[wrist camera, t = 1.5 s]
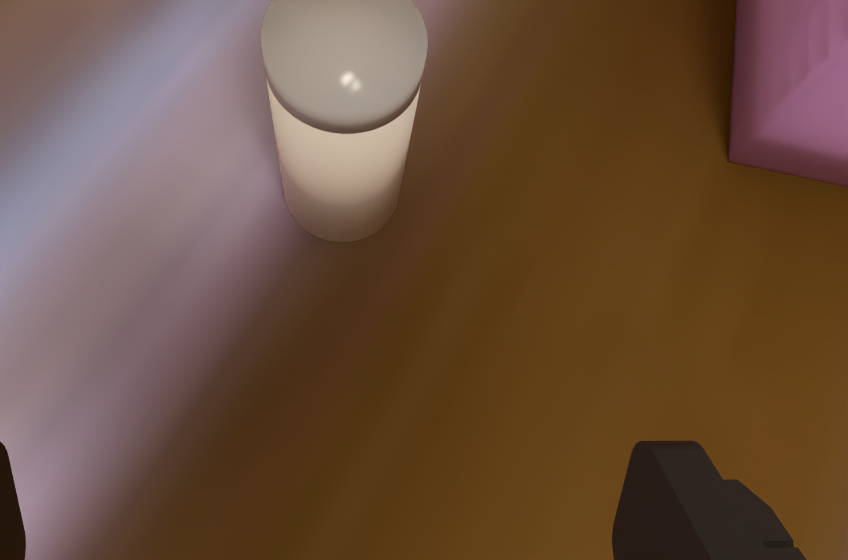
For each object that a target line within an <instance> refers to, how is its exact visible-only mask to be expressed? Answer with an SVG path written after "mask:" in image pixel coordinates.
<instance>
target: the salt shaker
mask: <svg viewBox="0 0 848 560" xmlns="http://www.w3.org/2000/svg"><path fill="white" fill-rule="evenodd" d="M261 48H262V55H263V61H264V68H265V74H266V80H267V87H268V93H269V100H270V106H271V113H272V119H273V126H274V132H275V138H276V145H277V151H278V158H279V164H280V171H281V177H282V183H283V190H284V196H285V201H286V204H287V207H288V209H289V211H290V213H291V215H292V216H293V218H294V219H295V220H296V222H297V223H298V224H299V225H300V226H301V227H302V228H304V229H305V230H306V231H308V232H309V233H311V234H312V235H314V236H316V237H318V238H321V239H324V240H328V241H333V242H352V241H357V240H360V239H364V238H366V237H368V236H371V235H372V234H374V233H376V232H377V231H378V230H380V229H381V228H382V227H383V226H384V225H385V224H386V223H387V222H388V221H389V219H390V218H391V217H392V215H393V213H394V211H395V209H396V206H397V203H398V198H399V193H400V188H401V183H402V178H403V173H404V168H405V163H406V157H407V152H408V147H409V142H410V137H411V132H412V127H413V122H414V117H415V112H416V107H417V102H418V96H419V91H420V86H421V81H422V76H423V71H424V66H425V61H426V56H427V49H428V38H427V31H426V27H425V23H424V21H423V18H422V16H421V14H420V12H419V10H418V8H417V7H416V5H415V4H414V3H413V1H412V0H272V2H271V3H270V5H269V6H268V8H267V11H266V13H265V15H264V18H263V22H262V26H261Z"/></svg>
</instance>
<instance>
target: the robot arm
mask: <svg viewBox="0 0 848 560" xmlns="http://www.w3.org/2000/svg"><path fill="white" fill-rule="evenodd" d="M612 546H613V555H614V560H806V559H805V557H804V556H803V554H802V553H801V551H800V550H799V548H794V545H793V540H792V538H791V537H790V535H789V534H788V532H787V531H786V529H785V528H784V526H783V525H782V523H781V522H780V520H779V519H778V517H777V516H776V514H775V513H774V511H773V510H772V509H771V507H769V506H768V505H767V504H766V503H765V502H763V501H762V500H761V499H760V498H759V497H757V496H756V495H755V494H754V493H753V492H751V491H750V490H749V489H748V488H747V487H745V486H744V485H743V484H742V483H741V482H739V481H738V480H723V479H722V478H721V476H720V474H719V473H718V471H717V470H716V468H715V466H714V465H713V463H712V462H711V460H710V459H709V457H708V455H707V454H706V452H705V451H704V449H703V448H702V446H701V445H700V444H698V443H697V442H695V441H640V442H638V443H637V444H636V445H635V446H634V448H633V451H632V454H631V457H630V461H629V465H628V469H627V473H626V477H625V481H624V485H623V489H622V493H621V497H620V501H619V505H618V509H617V513H616V517H615V521H614V525H613V533H612ZM25 549H26V539H25V531H24V526H23V521H22V517H21V512H20V507H19V503H18V498H17V494H16V489H15V484H14V480H13V475H12V471H11V466H10V461H9V457H8V453H7V450H6V448H5V446H4V445H3V444H2V443H1V442H0V560H24V559H25Z"/></svg>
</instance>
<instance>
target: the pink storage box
mask: <svg viewBox="0 0 848 560" xmlns="http://www.w3.org/2000/svg"><path fill="white" fill-rule="evenodd" d="M728 162H732V163H736V164H741V165H746V166H751V167H755V168H760V169H765V170H770V171H774V172H779V173H784V174H789V175H794V176H798V177H803V178H808V179H813V180H817V181H822V182H827V183H832V184H837V185H841V186H846V187H848V0H737V1H736V20H735V38H734V57H733V76H732V95H731V114H730V133H729V151H728Z"/></svg>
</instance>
